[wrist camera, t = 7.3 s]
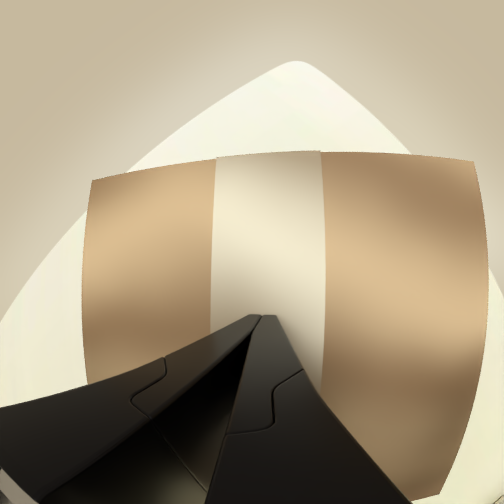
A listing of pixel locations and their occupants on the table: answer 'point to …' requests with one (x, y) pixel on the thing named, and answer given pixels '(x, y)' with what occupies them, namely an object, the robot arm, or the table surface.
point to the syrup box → (500, 501)
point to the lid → (307, 283)
